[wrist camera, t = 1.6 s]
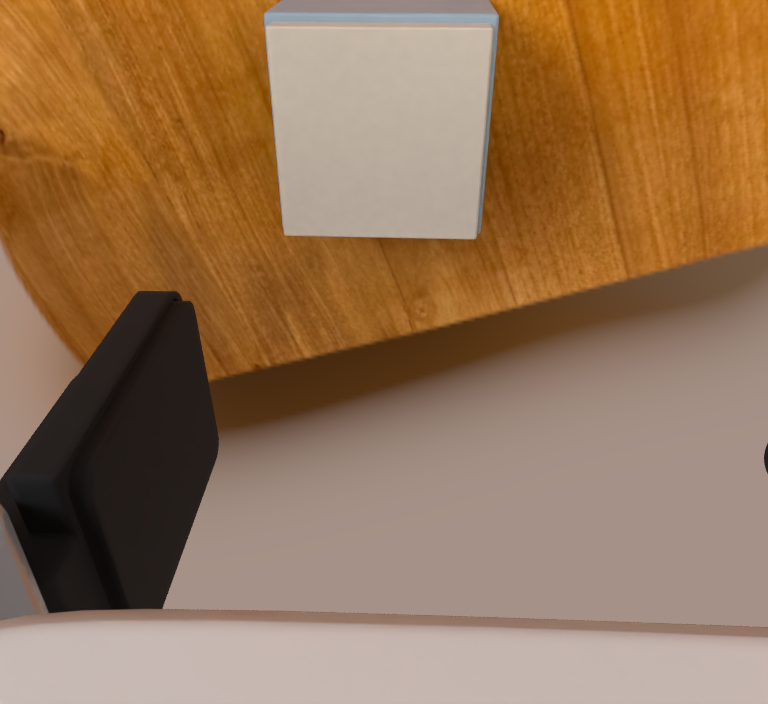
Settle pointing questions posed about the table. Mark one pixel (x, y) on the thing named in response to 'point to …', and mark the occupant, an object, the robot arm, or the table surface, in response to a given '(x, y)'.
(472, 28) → the upper pad
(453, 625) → the robot arm
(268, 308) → the table surface
